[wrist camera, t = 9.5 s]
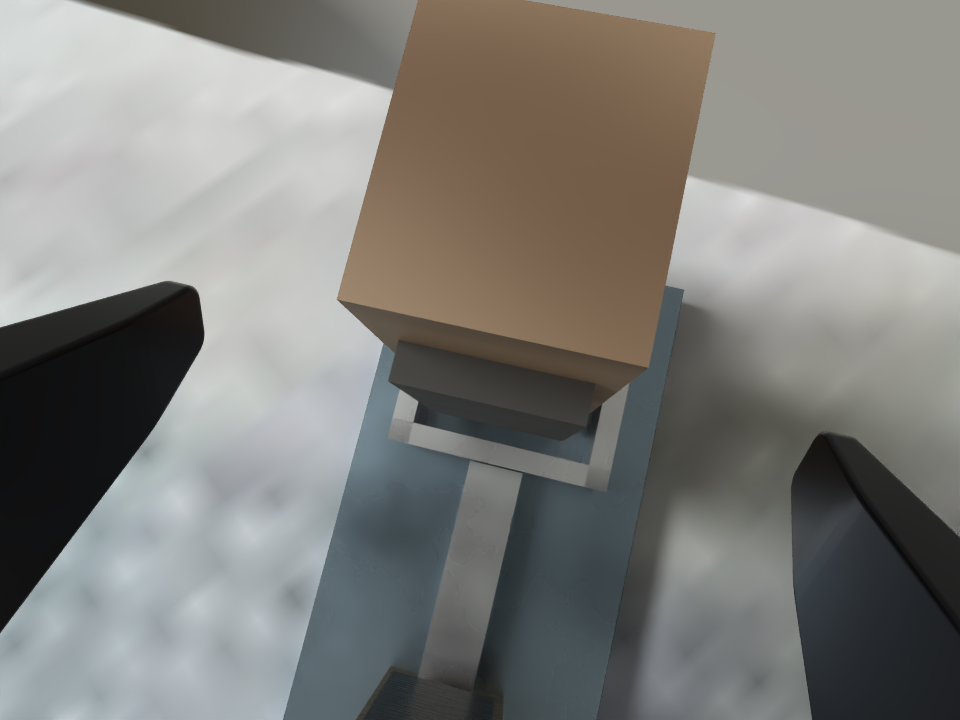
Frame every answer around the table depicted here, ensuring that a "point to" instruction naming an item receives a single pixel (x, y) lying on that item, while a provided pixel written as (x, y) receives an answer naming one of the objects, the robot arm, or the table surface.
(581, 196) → the walnut finger
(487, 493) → the rail
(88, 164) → the table surface
